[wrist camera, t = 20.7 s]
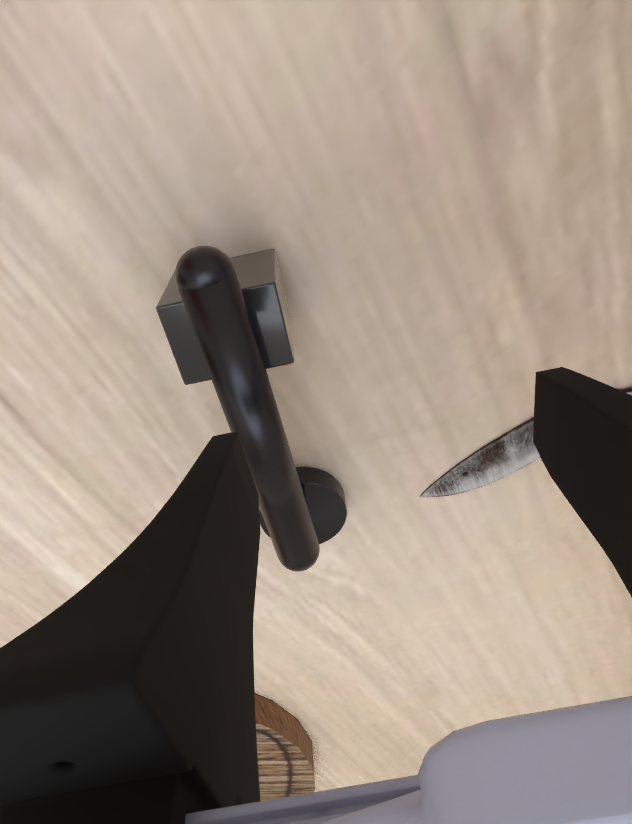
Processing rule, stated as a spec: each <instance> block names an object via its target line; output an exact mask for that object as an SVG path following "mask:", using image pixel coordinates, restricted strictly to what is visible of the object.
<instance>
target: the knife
mask: <svg viewBox="0 0 632 824" xmlns="http://www.w3.org/2000/svg"><path fill="white" fill-rule="evenodd" d="M623 392H625V393H627V394H630V395H632V389H630V390H625V391H623ZM533 428H534V418H533V419H531V420H529V421H528V422H526V423H524V424H522V425H521V426H519V427H517V428H515V429H514V430H512V431H510V432H508V433H507V434H505V435H503V436H501V437H500V438H498V439H496V440H495V441H493V442H491V443H490V444H488V445H486V446H485V447H483V448H482V449H480V450H479V451H477V452H476V453H474V454H473V455H471V456H470V457H468V458H467V459H465V460H464V461H463V462H461V463H460V464H458V465H457V466H456V467H454V468H453V469H451V470H450V471H449V472H448V473H446V474H445V475H444V476H442V477H441V478H440V479H439V480H437V481H436V482H435V483H434V484H432V485H431V486H430V487H429V488H428V489H427V490H426V491H425V492H424V493H423V494H422V496H421V497H438V496H448V495H454V494H459V493H463V492H466V491H470V490H473V489H476V488H479V487H482V486H485V485H487V484H490V483H492V482H495V481H497V480H499V479H502V478H504V477H506V476H508V475H510V474H512V473H514V472H515V471H517V470H519V469H521V468H523V467H525V466H526V465H528V464H530V463H532V462H533V461H535V460H537V459H538V458H540V455H539V453H538V451H537V449H536V447H535V445H534V443H533Z"/></svg>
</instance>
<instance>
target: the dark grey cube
mask: <svg viewBox="0 0 632 824" xmlns="http://www.w3.org/2000/svg"><path fill="white" fill-rule="evenodd" d="M229 259H230V260H231V262H232V263H233V265H234V268H235V271H236V274H237V277H238V280H239V284H240V287H241V290H242V293H243V297H244V300H245V303H246V307H247V310H248V313H249V316H250V320H251V323H252V326H253V330H254V333H255V336H256V339H257V343H258V346H259V349H260V352H261V356H262V359H263V362H264V366H265V369H266V368H271V367H276V366H281V365H286V364H291V363H294V353H293V340H292V327H291V317H290V312H289V308H288V304H287V299H286V295H285V291H284V286H283V282H282V278H281V273H280V269H279V265H278V260H277V256H276V252H275V249H270V250H265V251H260V252H256V253H251V254H246V255H242V256H237V257H232V258H229ZM175 271H176V270H175ZM175 271H174V273H173V275H172V277H171V279H170V281H169V283H168V285H167V287H166V289H165V291H164V293H163V295H162V297H161V299H160V301H159V303H158V305H157V307H156V310H157V312H158V315H159V318H160V320H161V323H162V326H163V328H164V331H165V334H166V336H167V339H168V342H169V344H170V347H171V350H172V352H173V355H174V358H175V360H176V363H177V366H178V368H179V371H180V373H181V376H182V379H183V381H184V384H185V385H188V384H193V383H197V382H202V381H207V380H212V379H211V376H210V373H209V371H208V368H207V365H206V363H205V360H204V357H203V355H202V352H201V349H200V347H199V344H198V341H197V339H196V336H195V333H194V331H193V328H192V325H191V323H190V320H189V317H188V314H187V312H186V309H185V306H184V304H183V301H182V298H181V296H180V293H179V290H178V288H177V284H176V281H175Z"/></svg>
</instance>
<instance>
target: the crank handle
mask: <svg viewBox="0 0 632 824" xmlns="http://www.w3.org/2000/svg"><path fill="white" fill-rule="evenodd" d="M175 281H176V284H177V288H178V290H179V293H180V296H181V298H182V301H183V304H184V306H185V309H186V312H187V314H188V317H189V320H190V323H191V325H192V328H193V331H194V333H195V336H196V339H197V341H198V344H199V347H200V349H201V352H202V355H203V357H204V360H205V363H206V365H207V368H208V371H209V373H210V376H211V379H212V382H213V384H214V387H215V390H216V392H217V395H218V398H219V400H220V403H221V406H222V408H223V411H224V414H225V416H226V419H227V422H228V424H229V427H230V430H231V432H238V435H239V438H240V441H241V444H242V447H243V450H244V453H245V456H246V459H247V462H248V465H249V468H250V471H251V474H252V477H253V480H254V483H255V486H256V489H257V492H258V497H259V514H260V524H261V526H262V528H263V530H264V531H265V533H266V534H267V535H268V536H269V537H270V538H271V540H272V542H273V545H274V548H275V550H276V553H277V556H278V558H279V560H280V562H281V563H282V565H283V566H285V567H286V568H287V569H289V570H292V571H304V570H307V569H309V568H310V567H311V566H312V565H314V563H315V562H316V560H317V558H318V556H319V544H321V543H324V542H326V541H328V540H329V539H331V538H332V537H334V536H335V535H336V534H337V533H338V532H339V531H340V530H341V528H342V527H343V525H344V523H345V520H346V516H347V510H346V504H345V498H344V492H343V489H342V487H341V485H340V484H339V482H338V481H337V480H336V479H335V478H334V477H333V476H331V475H330V474H328V473H326V472H324V471H322V470H319V469H315V468H307V467H301V468H296V467H295V464H294V461H293V457H292V454H291V451H290V448H289V444H288V441H287V438H286V434H285V431H284V428H283V425H282V421H281V418H280V415H279V411H278V408H277V405H276V402H275V398H274V395H273V392H272V389H271V385H270V382H269V379H268V375H267V372H266V369H265V366H264V362H263V359H262V356H261V352H260V349H259V346H258V343H257V339H256V336H255V333H254V330H253V326H252V323H251V320H250V316H249V313H248V310H247V307H246V303H245V300H244V297H243V293H242V290H241V287H240V284H239V280H238V277H237V274H236V271H235V268H234V265H233V263H232V262H231V260H230V259H229V257H228V256H227V255H226V254H225V253H223V252H222V251H220V250H219V249H216V248H214V247H210V246H198V247H194V248H192V249H190V250H188V251H187V252H186V253H185V254H184V255H183V256H182V257H181V258H180V260H179V261H178V264H177V266H176V271H175Z"/></svg>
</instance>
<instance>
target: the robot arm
mask: <svg viewBox="0 0 632 824" xmlns="http://www.w3.org/2000/svg"><path fill="white" fill-rule="evenodd" d="M533 443H534V445H535V447H536V449H537V451H538V453H539V455H540V457H541V459H542V461H543V463H544V465H545V467H546V469H547V470H548V472H549V474H550V476H551V477H552V479H553V480H554V482H555V483H556V485H557V486H558V487H559V489H560V490H561V492H562V493H563V494H564V496H565V497H566V499H567V500H568V501H569V503H570V504H571V506H572V507H573V508H574V510H575V511H576V512H577V514H578V515H579V517H580V518H581V519H582V521H583V522H584V523H585V525H586V526H587V528H588V529H589V530H590V532H591V533H592V535H593V536H594V537H595V539H596V540H597V541H598V543H599V544H600V546H601V547H602V548H603V550H604V551H605V553H606V554H607V556H608V557H609V559H610V561H611V562H612V564H613V565H614V567H615V569H616V570H617V572H618V574H619V576H620V577H621V579H622V581H623V583H624V584H625V586H626V588H627V590H628V591H629V593H630V595H631V597H632V395H630V394H627V393H625V392H623V391H620V390H618V389H615V388H613V387H611V386H608V385H606V384H604V383H601V382H599V381H597V380H594V379H592V378H590V377H587V376H585V375H582V374H580V373H577V372H575V371H572V370H569V369H566V368H563V367H560V368H555V369H550V370H545V371H540V372H536V383H535V406H534V428H533ZM259 540H260V514H259V497H258V492H257V489H256V486H255V483H254V480H253V477H252V474H251V471H250V468H249V465H248V462H247V459H246V456H245V453H244V450H243V447H242V444H241V441H240V438H239V435H238V432H232V433H227V434H222V435H217V436H213V437H212V438H211V440H210V441H209V443H208V444H207V446H206V447H205V448H204V450H203V451H202V453H201V454H200V456H199V457H198V459H197V460H196V462H195V463H194V465H193V466H192V468H191V469H190V471H189V472H188V474H187V475H186V477H185V478H184V480H183V481H182V482H181V484H180V485H179V487H178V488H177V489H176V491H175V492H174V494H173V495H172V496H171V497H170V499H169V500H168V501H167V503H166V504H165V505H164V506H163V508H162V509H161V510H160V511H159V513H158V514H157V515H156V517H155V518H154V519H153V520H152V521H151V523H150V524H149V525H148V526H147V527H146V528H145V529H144V530H143V532H142V533H141V534H140V535H139V536H138V537H137V538H136V539H135V540H134V541H133V542H132V543H131V544H130V545H129V546H128V547H127V548H126V550H125V551H123V552H122V553H121V554H120V555H119V556H118V557H117V558H116V559H115V560H114V561H113V562H112V563H111V564H110V565H108V566H107V567H106V568H105V569H104V570H103V571H102V572H101V573H100V574H99V575H97V576H96V577H95V578H94V579H93V580H92V581H91V582H90V583H89V584H87V585H86V586H85V587H84V588H83V589H81V590H80V591H79V592H78V593H76V594H75V595H74V596H73V597H71V598H70V599H69V600H68V601H66V602H65V603H64V604H63V605H61V606H60V607H59V608H57V609H56V610H55V611H53V612H52V613H51V614H49V615H48V616H47V617H45V618H44V619H42V620H41V621H40V622H38V623H37V624H36V625H34V626H33V627H31V628H30V629H28V630H27V631H25V632H24V633H22V634H21V635H19V636H18V637H16V638H15V639H13V640H12V641H10V642H9V643H7V644H6V645H4V646H3V647H1V648H0V824H632V696H630V697H624V698H618V699H612V700H606V701H600V702H595V703H589V704H583V705H577V706H571V707H565V708H559V709H554V710H548V711H542V712H536V713H530V714H524V715H519V716H513V717H507V718H501V719H495V720H489V721H485V722H482V723H479V724H475V725H472V726H469V727H466V728H463V729H459V730H456V731H453V732H452V733H450V734H449V735H447V736H446V737H444V738H443V739H442V740H440V741H439V742H437V743H436V744H435V745H433V746H432V747H430V748H429V750H428V751H427V753H426V754H425V757H424V759H423V762H422V765H421V767H420V770H419V773H418V775H415V776H409V777H403V778H397V779H391V780H385V781H379V782H373V783H367V784H361V785H355V786H349V787H343V788H337V789H331V790H325V791H319V792H313V793H307V794H301V795H295V796H289V797H284V798H278V799H272V800H266V801H260V787H259V773H258V756H257V737H256V718H255V693H254V663H253V613H254V601H255V589H256V577H257V565H258V553H259Z"/></svg>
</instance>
